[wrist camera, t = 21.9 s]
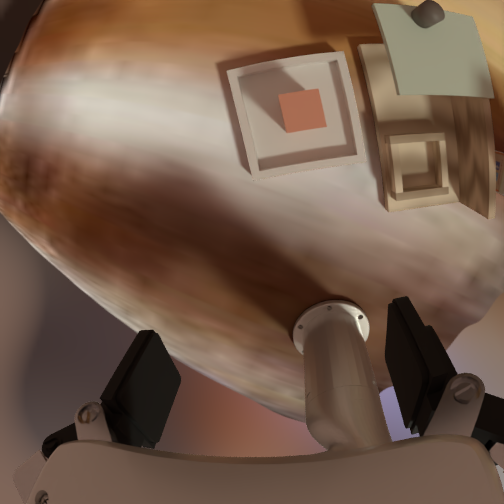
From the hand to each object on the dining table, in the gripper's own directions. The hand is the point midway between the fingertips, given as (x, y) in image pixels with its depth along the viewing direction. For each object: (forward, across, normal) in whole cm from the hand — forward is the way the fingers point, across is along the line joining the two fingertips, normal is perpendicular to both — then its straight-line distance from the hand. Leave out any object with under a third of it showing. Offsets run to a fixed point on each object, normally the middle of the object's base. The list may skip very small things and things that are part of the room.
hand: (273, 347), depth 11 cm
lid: (+19, -20, -14) cm, 31 cm away
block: (+28, -4, -9) cm, 29 cm away
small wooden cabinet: (+28, -20, -6) cm, 35 cm away
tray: (+28, -4, -9) cm, 30 cm away
